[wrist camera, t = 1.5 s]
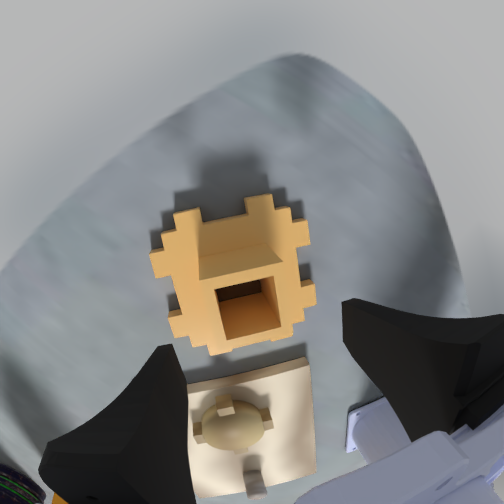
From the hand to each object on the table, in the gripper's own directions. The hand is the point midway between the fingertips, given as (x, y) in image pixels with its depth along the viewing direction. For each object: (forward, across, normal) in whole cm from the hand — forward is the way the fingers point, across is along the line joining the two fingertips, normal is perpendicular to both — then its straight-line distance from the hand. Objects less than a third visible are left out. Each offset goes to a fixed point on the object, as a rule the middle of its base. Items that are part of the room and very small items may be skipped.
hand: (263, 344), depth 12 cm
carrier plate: (+8, +3, +17) cm, 19 cm away
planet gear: (+8, 0, 0) cm, 8 cm away
